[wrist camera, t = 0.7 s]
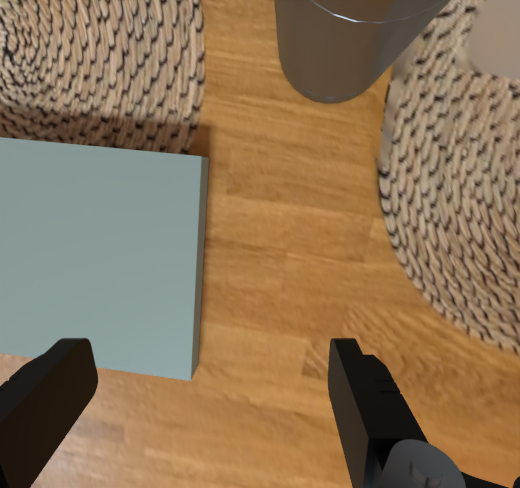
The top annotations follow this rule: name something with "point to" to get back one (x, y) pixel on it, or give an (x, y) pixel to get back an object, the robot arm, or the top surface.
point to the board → (103, 253)
